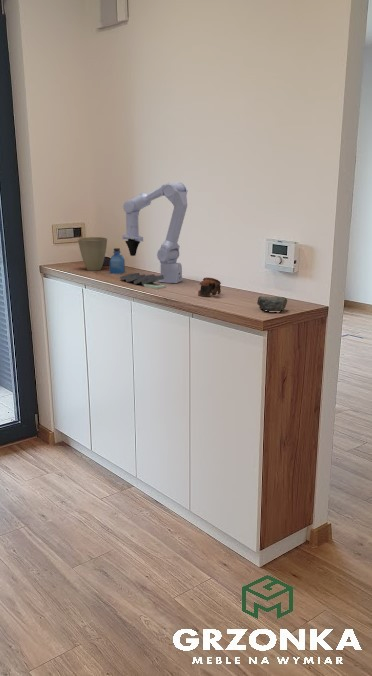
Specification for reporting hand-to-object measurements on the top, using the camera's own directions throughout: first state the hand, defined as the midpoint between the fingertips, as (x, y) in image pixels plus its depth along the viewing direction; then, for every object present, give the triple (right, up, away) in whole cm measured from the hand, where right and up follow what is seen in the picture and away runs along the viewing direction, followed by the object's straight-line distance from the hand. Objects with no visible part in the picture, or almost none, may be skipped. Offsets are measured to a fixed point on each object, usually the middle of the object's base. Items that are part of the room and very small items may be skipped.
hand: (133, 255), depth 279 cm
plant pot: (-23, -4, +26) cm, 35 cm away
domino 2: (0, -12, -9) cm, 15 cm away
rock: (+56, -29, -65) cm, 90 cm away
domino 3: (+4, -14, -14) cm, 20 cm away
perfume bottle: (-9, -6, +17) cm, 20 cm away
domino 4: (+7, -14, -17) cm, 24 cm away
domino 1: (-3, -11, -5) cm, 13 cm away
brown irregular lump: (+35, -22, -39) cm, 57 cm away
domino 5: (+8, -16, -19) cm, 26 cm away
